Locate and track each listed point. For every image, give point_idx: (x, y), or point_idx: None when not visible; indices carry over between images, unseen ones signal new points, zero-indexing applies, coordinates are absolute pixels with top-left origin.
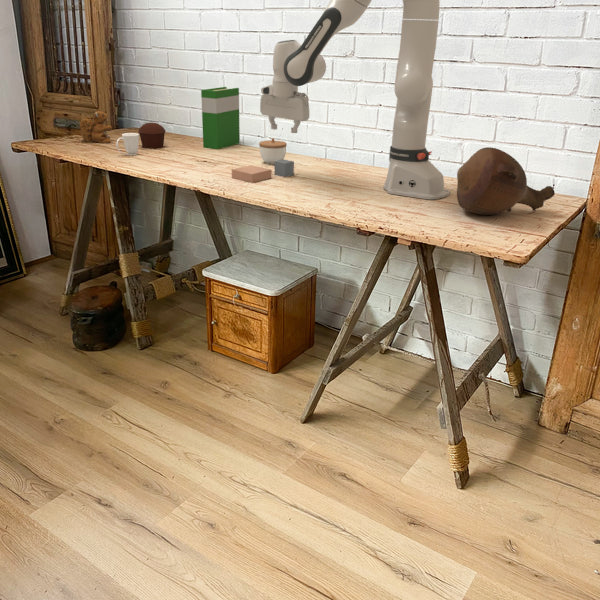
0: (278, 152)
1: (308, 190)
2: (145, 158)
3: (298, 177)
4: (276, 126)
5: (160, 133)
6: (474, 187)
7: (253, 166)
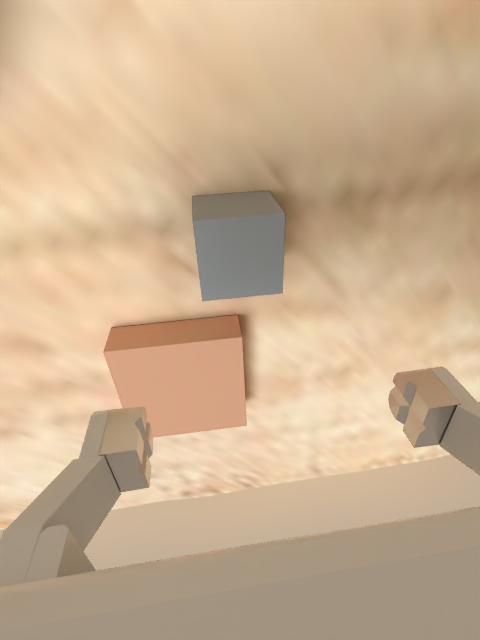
0: None
1: (460, 332)
2: None
3: (322, 214)
4: (141, 435)
5: None
6: None
7: (134, 357)
